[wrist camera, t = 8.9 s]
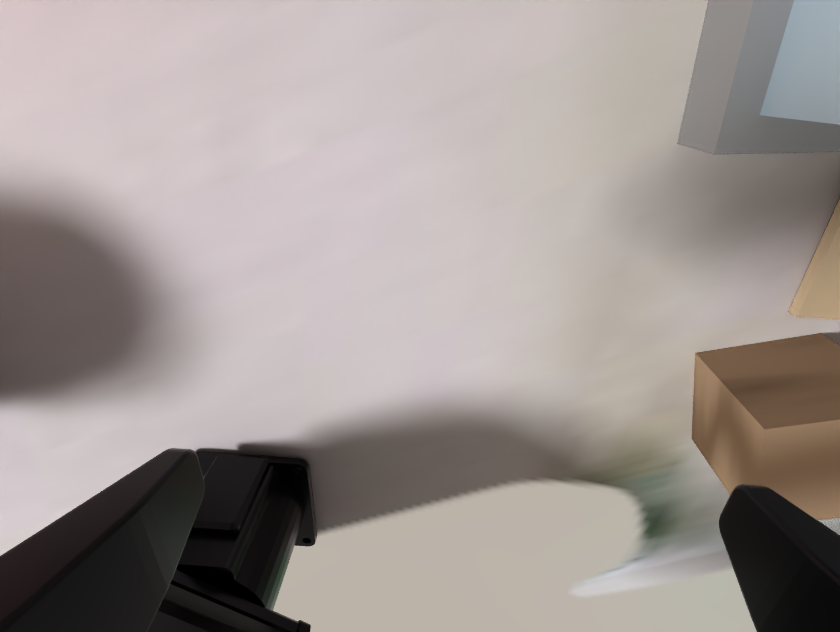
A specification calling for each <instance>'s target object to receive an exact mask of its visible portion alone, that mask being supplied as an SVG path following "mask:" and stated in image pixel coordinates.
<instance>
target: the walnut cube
mask: <svg viewBox="0 0 840 632" xmlns="http://www.w3.org/2000/svg"><path fill="white" fill-rule="evenodd" d="M692 440H693V441H694V443H695V444H696V446H697V447H698V449H699V450H700V452H701V453H702V454H703V456H704V457H705V459H706V460H707V462H708V463H709V465H710V466H711V468H712V469H713V471H714V472H715V474H716V475H717V477H718V478H719V480H720V481H721V482H722V484H723V485H724V487H725V488H726V490H727V491H728V493H729V494H730V495H731V493H732V491H733V489H734V488H735V487H736V486H737V485H739V484H751V485H763V486H766V487H769V488H770V489H772V490H774V491H775V492H777V493H778V494H780V495H781V496H782V497H784V498H785V499H787V500H788V501H790V502H791V503H793V504H794V505H796V506H797V507H799V508H800V509H802V510H803V511H804V512H806V513H807V514H809V515H810V516H812V517H813V518H815V519H816V520H823V519H833V518H840V345H838V344H837V343H835V342H834V341H833V340H831V339H830V338H828V337H827V336H825V335H824V334H822V333H819V334H812V335H806V336H799V337H793V338H787V339H780V340H774V341H768V342H761V343H755V344H749V345H742V346H736V347H730V348H723V349H717V350H711V351H704V352H698V353H695V372H694V396H693V420H692Z"/></svg>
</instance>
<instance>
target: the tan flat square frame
mask: <svg viewBox="0 0 840 632" xmlns="http://www.w3.org/2000/svg"><path fill="white" fill-rule="evenodd" d="M788 312H790V313H791V314H793V315H794V316H796V317H802V318H822V319H840V199H839V201H838V203H837V206H836V208H835V210H834V212H833V214H832V217H831V219H830V221H829V223H828V225H827V228H826V230H825V232H824V234H823V236H822V239H821V241H820V243H819V245H818V248H817V250H816V252H815V254H814V256H813V259H812V261H811V263H810V265H809V267H808V270H807V272H806V274H805V276H804V278H803V281H802V283H801V285H800V287H799V289H798V292H797V294H796V296H795V298H794V300H793V303H792V305H791V307H790V309H789V311H788Z"/></svg>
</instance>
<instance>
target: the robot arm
mask: <svg viewBox="0 0 840 632" xmlns="http://www.w3.org/2000/svg"><path fill="white" fill-rule="evenodd" d="M297 467H298V468H297ZM299 468H300V469H299ZM719 528H720V533H721V536H722V539H723V541H724V544H725V547H726V550H727V552H728V555H729V558H730V561H731V563H732V566H733V569H734V572H735V574H736V577H737V580H738V582H739V585H740V588H741V591H742V594H743V596H744V599H745V602H746V605H747V607H748V610H749V612H750V615H751V618H752V621H753V623H754V626H755V628H756V630H757V632H840V535H838V534H837V533H835V532H834V531H832V530H831V529H829V528H828V527H827V526H825V525H824V524H822V523H821V522H819V521H818V520H816V519H815V518H813V517H812V516H810V515H809V514H807V513H806V512H804V511H803V510H802V509H800V508H799V507H797V506H796V505H794V504H793V503H791V502H790V501H788V500H787V499H785V498H784V497H782V496H781V495H780V494H778V493H777V492H775V491H774V490H772V489H770V488H769V487H766V486H763V485H751V484H739V485H737V486H736V487H735V488H734V489H733V491H732V493H731V495H730V497H729V499H728V501H727V503H726V505H725V507H724V509H723V511H722V513H721V515H720V519H719ZM316 538H317V530H316V521H315V512H314V503H313V494H312V485H311V476H310V467H309V464H308V462H307V461H306V460H304V459H300V458H286V457H271V456H255V455H239V454H223V453H207V452H195V451H194V450H191V449H177V448H171V449H168V450H166V451H164V452H162V453H161V454H159V455H157V456H156V457H154V458H153V459H151V460H150V461H148V462H147V463H145V464H143V465H142V466H140V467H139V468H137V469H136V470H134V471H132V472H131V473H129V474H128V475H126V476H125V477H123V478H122V479H120V480H118V481H117V482H115V483H114V484H112V485H111V486H109V487H107V488H106V489H104V490H103V491H101V492H100V493H98V494H97V495H95V496H93V497H92V498H90V499H89V500H87V501H86V502H84V503H83V504H81V505H79V506H78V507H76V508H75V509H73V510H72V511H70V512H68V513H67V514H65V515H64V516H62V517H61V518H59V519H58V520H56V521H54V522H53V523H51V524H50V525H48V526H47V527H45V528H43V529H42V530H40V531H39V532H37V533H36V534H34V535H33V536H31V537H29V538H28V539H26V540H25V541H23V542H22V543H20V544H18V545H17V546H15V547H14V548H12V549H11V550H9V551H8V552H6V553H4V554H3V555H1V556H0V632H310V627H311V626H310V624H308V623H305V622H303V621H301V620H299V621H298V622H297V621H295V620H292V619H290V618H288V617H286V616H284V615H281V614H279V613H277V612H274V611H273V608H274V605H275V602H276V599H277V596H278V593H279V590H280V587H281V584H282V581H283V578H284V575H285V572H286V569H287V566H288V563H289V560H290V557H291V554H292V551H293V547H294V545H296V546H312V545H314V544H315V541H316Z"/></svg>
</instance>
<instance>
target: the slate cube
mask: <svg viewBox="0 0 840 632" xmlns="http://www.w3.org/2000/svg"><path fill="white" fill-rule="evenodd" d="M760 115H762V116H771V117H779V118H788V119H796V120H805V121H813V122H822V123H830V124H839V125H840V0H794V2H793V6H792V9H791V12H790V16H789V19H788V22H787V26H786V29H785V32H784V36H783V39H782V42H781V46H780V49H779V52H778V56H777V59H776V62H775V66H774V69H773V72H772V76H771V79H770V82H769V86H768V89H767V92H766V96H765V99H764V102H763V106H762V109H761V112H760Z"/></svg>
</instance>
